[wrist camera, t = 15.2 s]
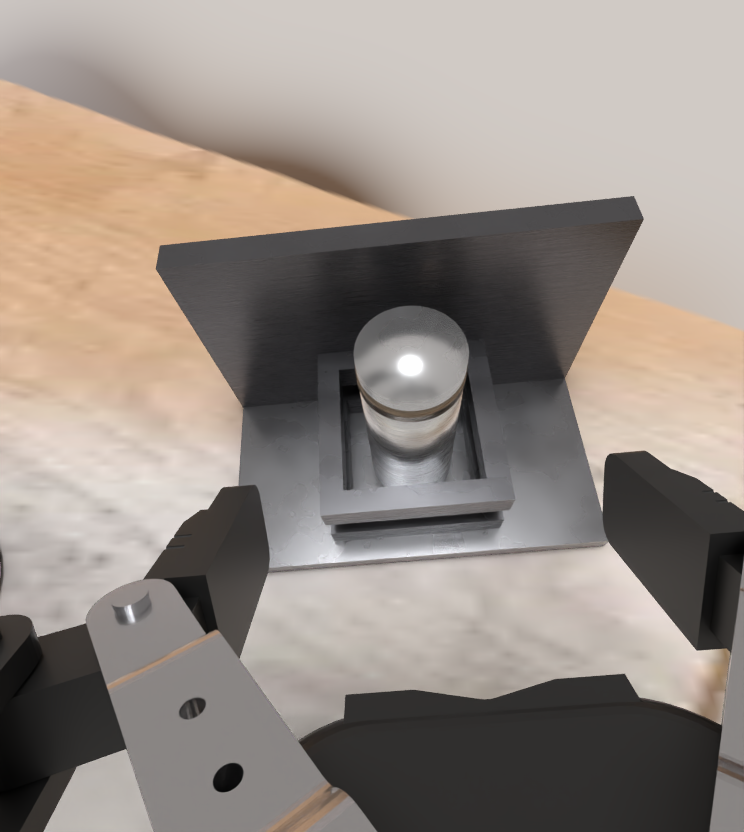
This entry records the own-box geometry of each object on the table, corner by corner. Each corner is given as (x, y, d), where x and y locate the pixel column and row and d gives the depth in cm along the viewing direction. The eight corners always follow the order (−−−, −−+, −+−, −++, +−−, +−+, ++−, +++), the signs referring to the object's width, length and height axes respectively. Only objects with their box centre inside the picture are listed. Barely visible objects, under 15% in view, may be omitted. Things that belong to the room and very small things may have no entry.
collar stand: (239, 574, 26) (114, 499, 15) (251, 372, 31) (165, 213, 20) (602, 545, 25) (743, 446, 14) (548, 344, 30) (619, 164, 20)
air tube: (374, 501, 26) (355, 406, 17) (370, 428, 28) (350, 310, 19) (455, 494, 26) (478, 396, 17) (445, 422, 27) (461, 300, 19)
